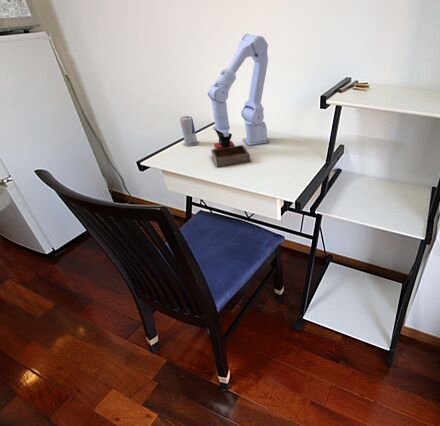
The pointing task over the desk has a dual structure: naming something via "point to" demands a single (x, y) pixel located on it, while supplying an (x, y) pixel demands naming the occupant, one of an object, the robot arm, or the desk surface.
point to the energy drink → (188, 130)
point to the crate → (230, 155)
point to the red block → (219, 145)
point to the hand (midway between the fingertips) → (225, 146)
